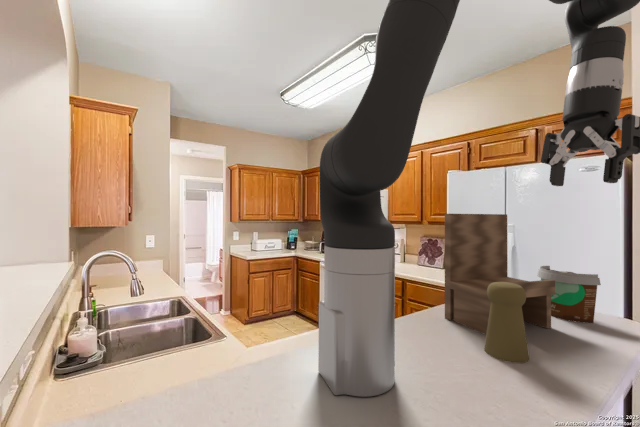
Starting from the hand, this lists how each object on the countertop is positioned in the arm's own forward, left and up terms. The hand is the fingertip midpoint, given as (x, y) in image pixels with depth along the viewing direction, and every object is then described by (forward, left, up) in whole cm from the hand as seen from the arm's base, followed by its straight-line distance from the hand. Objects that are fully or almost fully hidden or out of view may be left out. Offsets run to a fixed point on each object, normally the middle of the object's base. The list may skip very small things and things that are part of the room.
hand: (581, 184), depth 53 cm
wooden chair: (-7, +10, -27) cm, 30 cm away
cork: (-18, 0, -27) cm, 33 cm away
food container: (+10, +10, -27) cm, 31 cm away
